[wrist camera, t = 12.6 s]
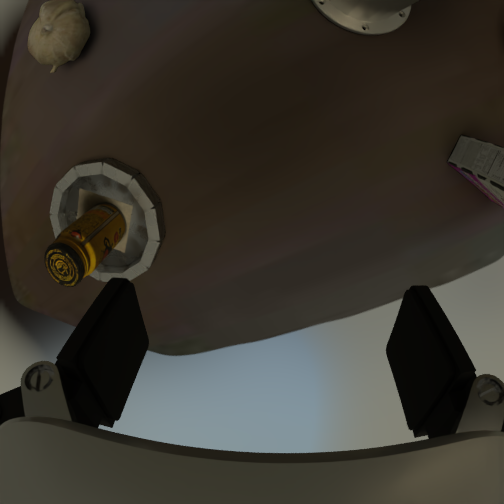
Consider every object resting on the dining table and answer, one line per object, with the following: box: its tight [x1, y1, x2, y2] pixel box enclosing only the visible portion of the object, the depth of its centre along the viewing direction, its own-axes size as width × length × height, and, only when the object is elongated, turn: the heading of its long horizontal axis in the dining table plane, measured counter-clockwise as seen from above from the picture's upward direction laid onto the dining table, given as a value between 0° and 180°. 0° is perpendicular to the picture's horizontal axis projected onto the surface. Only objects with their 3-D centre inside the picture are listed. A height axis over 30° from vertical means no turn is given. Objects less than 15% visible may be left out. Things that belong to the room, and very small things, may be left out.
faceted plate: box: [50, 158, 166, 282], centre depth 38 cm, size 17×17×2 cm
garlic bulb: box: [28, 0, 90, 73], centre depth 23 cm, size 9×8×10 cm
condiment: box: [45, 188, 133, 287], centre depth 33 cm, size 7×8×12 cm
